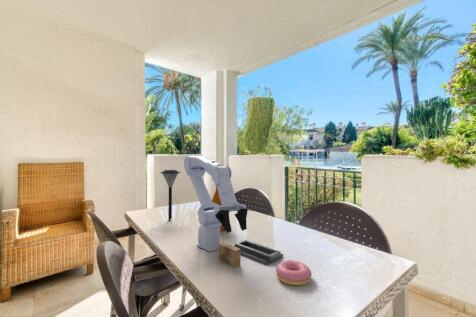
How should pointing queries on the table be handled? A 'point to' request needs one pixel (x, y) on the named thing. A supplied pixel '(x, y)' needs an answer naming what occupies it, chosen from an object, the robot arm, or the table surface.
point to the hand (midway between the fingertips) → (236, 230)
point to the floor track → (258, 252)
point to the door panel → (229, 254)
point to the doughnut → (293, 272)
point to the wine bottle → (217, 200)
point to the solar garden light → (170, 185)
